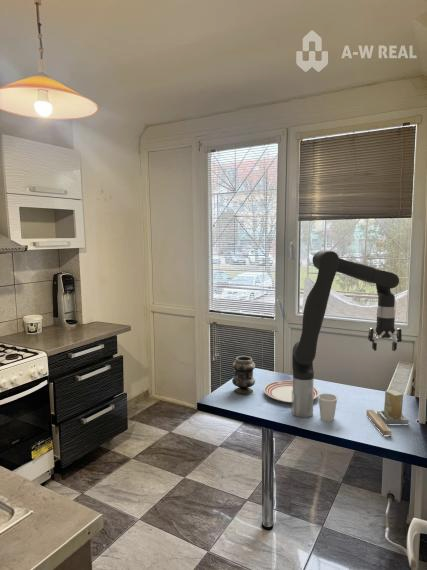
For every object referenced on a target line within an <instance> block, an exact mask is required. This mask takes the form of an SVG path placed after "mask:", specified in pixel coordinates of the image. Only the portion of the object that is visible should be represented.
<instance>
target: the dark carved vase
mask: <svg viewBox="0 0 427 570" xmlns="http://www.w3.org/2000/svg"><path fill="white" fill-rule="evenodd" d="M232 367H233V369H234V376H233V377H232V380H231V382H232V384H233V385H234V386H235V387H236V388H235V389H234V390H233V391H234V393H235V394H237V395H241V396H244V395H246V396H247V395H250V394H253V393H254V390H253V389H252V388H251V387H253V386H254V385H255V383H256V379H255V377H254V370H255V368H256V364H255V362H254V361H253V358H252V357H251V356H247V355H240V356H237V357H236V358H235V361H234V362H233V363H232Z"/></svg>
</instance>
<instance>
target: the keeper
mask: <svg viewBox="0 0 427 570" xmlns="http://www.w3.org/2000/svg"><path fill="white" fill-rule="evenodd" d="M376 412H377V413H376V414H377V415H378V416H379V417H380V418H381V419H382V421H383V422H384V423H385V424H408V425H409V422H410V421H409V419H408V418H407V416H406V415H404V413H402V418H401V419H387V418H386V417H385V416H384V409H378V410H377V411H376Z"/></svg>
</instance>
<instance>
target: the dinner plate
mask: <svg viewBox="0 0 427 570" xmlns="http://www.w3.org/2000/svg"><path fill="white" fill-rule="evenodd" d="M292 391H293V380H278V381H277V380H276V381H273V382H269V383H267V384H266V385H265V386H264V389H263V392H264V393H265V395H266V396H268V397H269V398H272V399H274V400H275V401H276V400H277V401H279V402H283V403H291V404H292ZM318 395H320V392H319V390H318V389H317V388H316V387H315V386H313V401H314V400H316V399H317V398H318Z"/></svg>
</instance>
